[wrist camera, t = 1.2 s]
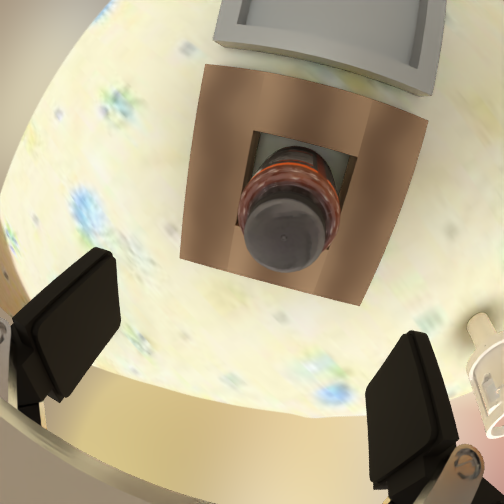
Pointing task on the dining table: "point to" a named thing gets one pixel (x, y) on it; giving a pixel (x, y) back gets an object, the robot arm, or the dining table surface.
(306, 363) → the dining table surface
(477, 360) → the white cylindrical cage holder
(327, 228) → the supplement bottle
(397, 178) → the socket block
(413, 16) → the tray
